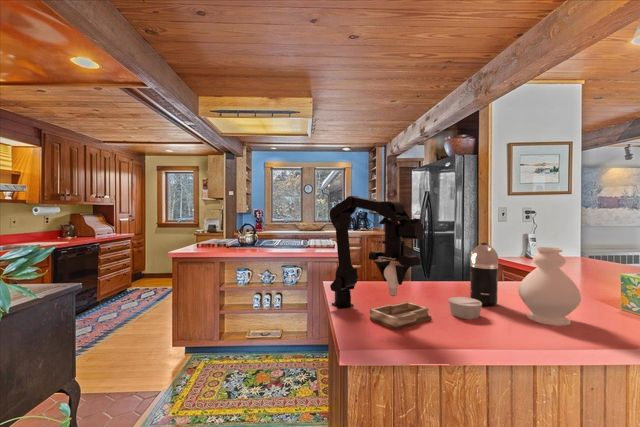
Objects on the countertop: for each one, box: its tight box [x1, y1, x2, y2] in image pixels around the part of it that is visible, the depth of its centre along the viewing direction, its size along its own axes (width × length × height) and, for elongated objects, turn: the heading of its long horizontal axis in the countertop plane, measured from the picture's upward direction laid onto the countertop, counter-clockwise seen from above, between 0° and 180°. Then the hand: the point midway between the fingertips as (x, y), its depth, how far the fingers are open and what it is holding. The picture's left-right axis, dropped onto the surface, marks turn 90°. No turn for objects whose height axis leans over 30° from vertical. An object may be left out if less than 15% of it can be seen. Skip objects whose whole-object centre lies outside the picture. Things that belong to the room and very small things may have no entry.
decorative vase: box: [518, 246, 582, 327], centre depth 113 cm, size 18×18×25 cm
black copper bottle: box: [469, 242, 499, 307], centre depth 132 cm, size 10×10×25 cm
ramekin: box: [448, 296, 483, 320], centre depth 117 cm, size 11×11×5 cm
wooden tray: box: [369, 301, 432, 331], centre depth 113 cm, size 12×18×4 cm, turn 124°
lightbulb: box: [384, 263, 399, 297], centre depth 111 cm, size 6×6×11 cm
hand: (393, 283), depth 111 cm, fingers closed on lightbulb, 6 cm apart
